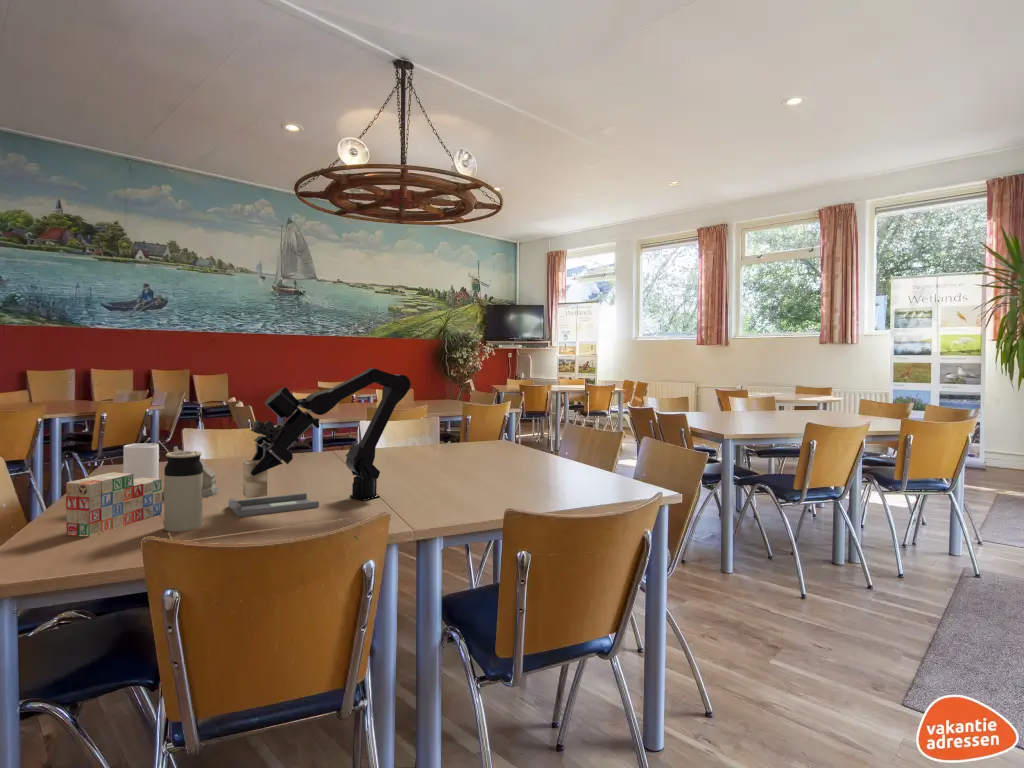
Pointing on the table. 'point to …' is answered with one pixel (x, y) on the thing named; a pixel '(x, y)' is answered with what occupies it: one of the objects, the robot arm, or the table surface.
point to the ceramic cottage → (206, 479)
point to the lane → (271, 504)
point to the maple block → (253, 481)
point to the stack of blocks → (110, 502)
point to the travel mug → (183, 491)
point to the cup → (141, 460)
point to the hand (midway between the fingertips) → (249, 472)
